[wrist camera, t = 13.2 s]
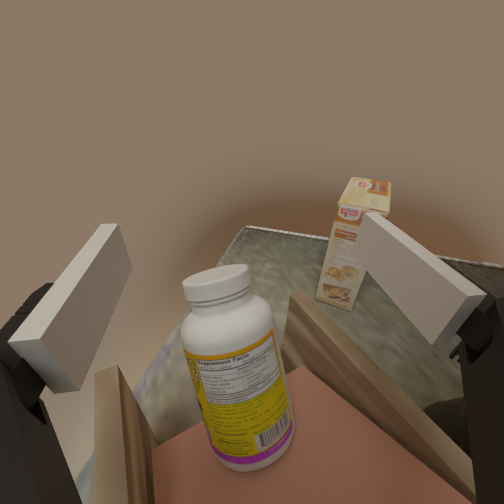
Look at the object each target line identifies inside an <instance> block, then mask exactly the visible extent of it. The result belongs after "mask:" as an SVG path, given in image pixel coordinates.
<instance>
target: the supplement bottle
mask: <svg viewBox="0 0 504 504" xmlns="http://www.w3.org/2000/svg"><path fill="white" fill-rule="evenodd" d="M251 282H252V279H251V275H250V271H249V268H248V266H247V265H245V264H234V265H227V266H221V267H217V268H213V269H209V270H206V271H203V272H200V273H197V274H194V275H192V276H190V277H188V278H186V279H185V280H184V281H183V282H182V285H183V289H184V293H185V298H186V300H188V301H189V304H191V306H192V312H191V313H190V314H189V315H188V316H187V317H186V318H185V320H184V322H183V324H182V327H181V332H180V334H181V341H182V345H183V349H184V352H185V355H186V359H187V362H188V366H189V370H190V373H191V377H192V381H193V384H194V388H195V392H196V395H197V399H198V402H199V406H200V410H201V413H202V417H203V421H204V424H205V428H206V431H207V435H208V439H209V442H210V445H211V448H212V451H213V453H214V455H215V456H216V458H217V459H218V460H219V462H220V463H222V464H223V465H224V466H225V467H227V468H229V469H231V470H234V471H238V472H250V471H256V470H260V469H263V468H265V467H267V466H269V465H271V464H273V463H274V462H275V461H276V460H278V459H279V458H280V457H281V456H282V455H283V454H284V452H285V451H286V450H287V448H288V447H289V445H290V443H291V441H292V438H293V435H294V429H295V417H294V412H293V407H292V402H291V398H290V393H289V388H288V384H287V379H286V374H285V370H284V365H283V360H282V356H281V351H280V346H279V342H278V337H277V332H276V327H275V322H274V317H273V313H272V309H271V307H270V306H269V304H268V303H267V302H266V301H265V300H264V299H263V298H261V297H259V296H256V295H253V294H252V293H251Z"/></svg>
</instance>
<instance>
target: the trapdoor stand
mask: <svg viewBox="0 0 504 504" xmlns="http://www.w3.org/2000/svg"><path fill="white" fill-rule="evenodd" d="M281 356H282V360H283V365H284V370H285V374H288V373H290V372H291V371H293V370H295V369H297V368H299V367H300V366H302V365H303V366H304V367H305V368H306V369H308V370H309V371H310V372H311V373H312V374H314V375H315V376H316V377H317V378H319V379H320V380H321V381H322V382H324V383H325V384H326V385H327V386H328V387H330V388H331V389H332V390H333V391H335V392H336V393H337V394H338V395H340V396H341V397H342V398H343V399H344V400H346V401H347V402H348V403H349V404H351V405H352V406H353V407H354V408H356V409H357V410H358V411H359V412H360V413H362V414H363V415H364V416H365V417H367V418H368V419H369V420H370V421H372V422H373V423H374V424H375V425H376V426H378V427H379V428H380V429H381V430H383V431H384V432H385V433H386V434H388V435H389V436H390V437H391V438H393V439H394V440H395V441H396V442H397V443H399V444H400V445H401V446H402V447H404V448H405V449H406V450H407V451H409V452H410V453H411V454H412V455H413V456H415V457H416V458H417V459H418V460H420V461H421V462H422V463H423V464H425V465H426V466H427V467H428V468H429V469H431V470H432V471H433V472H434V473H436V474H437V475H438V476H439V477H441V478H442V479H443V480H444V481H445V482H447V483H448V484H449V485H450V486H452V487H453V488H454V489H455V490H457V491H458V492H459V493H460V494H461V495H463V496H464V497H465V498H466V499H468V500H469V501H470V502H471V503H473V504H477V501H476V493H475V484H474V476H473V467H472V460H471V459H470V458H469V457H468V456H467V455H466V454H465V453H464V452H463V451H462V450H461V449H460V448H459V447H458V446H457V445H456V444H455V443H454V442H453V441H452V440H451V439H450V438H449V437H448V436H447V435H446V434H445V433H444V432H443V431H442V430H441V429H440V428H439V427H438V426H437V425H436V424H435V423H434V422H433V421H432V420H431V419H430V418H429V417H428V416H427V415H426V414H425V413H424V412H423V411H422V410H421V409H420V408H419V407H418V406H417V405H416V404H415V403H414V402H413V401H412V400H411V399H410V398H409V397H408V396H407V395H406V394H405V393H404V392H403V391H402V390H401V389H400V388H399V387H398V386H397V385H396V384H395V383H394V382H393V381H392V380H391V379H390V378H389V377H388V376H387V375H386V374H385V373H384V372H383V371H382V370H381V369H380V368H379V367H378V366H377V365H376V364H375V363H374V362H373V361H372V360H371V359H370V358H369V357H368V356H367V355H366V354H365V353H364V352H363V351H362V350H361V349H360V348H359V347H358V346H357V345H356V344H355V343H354V342H353V341H352V340H351V339H350V338H349V337H348V336H347V335H346V334H345V333H344V332H343V331H342V330H341V329H340V328H339V327H338V326H337V325H336V324H335V323H334V322H333V321H332V320H331V319H330V318H329V317H328V316H327V315H326V314H325V313H324V312H323V311H322V310H321V309H320V308H319V307H318V306H317V305H316V304H315V303H314V302H313V301H312V300H311V299H310V298H309V297H308V296H307V295H306V294H305V293H304V292H303V291H301V292H299V293H296V294H294V295H291V296H290V302H289V308H288V315H287V321H286V327H285V333H284V340H283V346H282V352H281ZM94 413H95V415H94V416H95V418H94V421H95V423H94V427H95V428H94V430H95V432H94V433H95V434H94V435H95V436H94V437H95V438H94V504H155V496H154V482H153V467H152V452H151V449H153V448H155V447H157V446H158V442H157V439H156V437H155V435H154V433H153V431H152V429H151V427H150V426H149V424H148V422H147V420H146V418H145V416H144V414H143V412H142V410H141V408H140V407H139V405H138V403H137V401H136V399H135V397H134V395H133V393H132V391H131V389H130V387H129V386H128V384H127V382H126V380H125V378H124V376H123V374H122V372H121V370H120V368H119V367H118V365H115V366H113V367H110V368H107V369H105V370H102V371H100V372H98V373H95V412H94Z"/></svg>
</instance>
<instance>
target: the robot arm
mask: <svg viewBox="0 0 504 504" xmlns="http://www.w3.org/2000/svg"><path fill="white" fill-rule="evenodd" d="M352 254H353V255H354V256H355V257H356V259H357V260H358V261H359V262H360V263H361V264H362V266H363V267H364V268H365V269H366V270H367V271H368V273H369V274H370V275H371V276H372V277H373V278H374V279H375V281H376V282H377V283H378V284H379V285H380V286H381V288H382V289H383V290H384V291H385V292H386V293H387V295H388V296H389V297H390V298H391V299H392V300H393V301H394V303H395V304H396V305H397V306H398V307H399V308H400V310H401V311H402V312H403V313H404V314H405V315H406V316H407V318H408V319H409V320H410V321H411V322H412V323H413V325H414V326H415V327H416V328H417V329H418V330H419V332H420V333H421V334H422V335H423V336H424V337H425V338H426V340H427V341H428V342H429V343H430V344H431V345H438V344H446V343H449V342H450V340H451V339H452V338H453V337H454V335H455V334H457V335H458V336H460V337H461V338H462V341H461V342H460V343H459V344H458V345H457V346H456V348H455V349H454V350H453V351H452V352H451V354H450V356H449V358H450V359H453V358H454V357H455V356H456V355H457V354H458V355H459V356H460V358H459V359H458V360H457V362H459V363H460V365H461V373H462V382H463V390H464V397H462V398H456V399H451V400H446V401H440V402H437V403H434V404H431V405H430V406H428V407H426V408H425V409H424V410H422V411H423V412H424V413H425V414H426V415H427V416H428V417H429V418H430V419H431V420H432V421H433V422H434V423H435V424H436V425H437V426H438V427H439V428H440V429H441V430H442V431H443V432H444V433H445V434H446V435H447V436H448V437H449V438H450V439H451V440H452V441H453V442H454V443H455V444H456V445H457V446H458V447H459V448H460V449H461V450H462V451H463V452H464V453H465V454H466V455H467V456H468V457H469V458H470V459H471V460H472V467H473V476H474V484H475V493H476V501H477V504H504V298H498V299H497V298H496V297H494V296H493V295H492V294H490V293H489V292H487V291H486V290H485V289H483V288H482V287H481V286H479V285H478V284H476V283H475V282H474V281H472V280H471V279H470V278H468V277H467V276H464V274H463V273H461V272H460V271H459V270H456V269H455V267H453V266H452V265H450V264H449V263H448V262H446V261H445V260H443V259H441V258H438V257H436V256H435V255H434V254H432V253H431V252H430V251H428V250H427V249H425V248H424V247H423V246H421V245H420V244H419V243H417V242H416V241H415V240H413V239H412V238H411V237H409V236H408V235H407V234H405V233H404V232H403V231H401V230H399V229H398V228H397V227H396V226H394V225H393V224H392V223H390V222H389V221H387V220H386V219H385V218H384V217H382V216H381V215H380V214H378V213H377V212H373V213H364V215H363V218H362V221H361V225H360V228H359V231H358V234H357V237H356V240H355V244H354V247H353V250H352ZM132 268H133V267H132V264H131V261H130V258H129V255H128V252H127V249H126V246H125V243H124V240H123V237H122V234H121V231H120V228H119V225H118V224H101V225H100V227H99V228H98V229H97V230H96V232H95V233H94V234H93V236H92V237H91V238H90V239H89V240H88V242H87V243H86V244H85V246H84V247H83V248H82V249H81V250H80V252H79V253H78V254H77V256H76V257H75V258H74V259H73V261H72V262H71V263H70V264H69V266H68V267H67V268H66V269H65V271H64V272H63V273H62V274H61V276H60V277H59V278H58V279H57V281H56V282H55V283H46V284H45V285H44V286H42V287H41V288H39V289H38V290H36V291H35V292H33V293H32V294H31V295H30V296H29V298H28V299H27V300H26V301H25V302H24V303H23V306H21V307H20V308H19V309H18V310H17V312H16V313H15V316H12V317H11V318H10V319H9V321H8V322H7V323H6V324H5V325H4V327H3V328H2V329H1V330H0V504H82V501H81V499H80V496H79V493H78V491H77V488H76V486H75V483H74V480H73V478H72V475H71V473H70V470H69V467H68V465H67V462H66V460H65V457H64V454H63V452H62V449H61V447H60V444H59V441H58V439H57V436H56V433H55V431H54V428H53V426H52V423H51V421H50V418H49V415H48V412H47V410H46V407H45V405H44V402H43V401H42V400H41V399H40V398H39V396H40V394H41V392H42V391H43V389H44V387H45V385H47V387H48V388H49V389H50V390H51V391H52V392H53V393H54V394H57V393H65V392H73V391H79V390H80V388H81V386H82V384H83V381H84V379H85V377H86V375H87V372H88V370H89V368H90V365H91V363H92V361H93V358H94V356H95V354H96V351H97V349H98V347H99V344H100V342H101V340H102V337H103V335H104V333H105V330H106V328H107V326H108V324H109V321H110V319H111V317H112V314H113V312H114V310H115V307H116V305H117V302H118V300H119V298H120V296H121V293H122V291H123V288H124V286H125V284H126V282H127V279H128V277H129V275H130V273H131V270H132Z"/></svg>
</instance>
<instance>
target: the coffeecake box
mask: <svg viewBox="0 0 504 504" xmlns="http://www.w3.org/2000/svg"><path fill="white" fill-rule="evenodd" d="M390 195H391V183H388V182H385V181H379V180H372V179H364V178H358V177H352V178H351V180H350V181H349V183H348V185H347V187H346V189H345V191H344V192H343V194H342V196H341V198H340V200H339V202H338V207H337V211H336V216H335V219H334V223H333V227H332V231H331V235H330V239H329V243H328V248H327V252H326V256H325V260H324V264H323V267H322V271H321V275H320V280H319V284H318V288H317V292H316V295H315V299H316V300H319V301H322V302H325V303H328V304H331V305H333V306H336V307H338V308H341V309H344V310H347V311H349V312H352V309H353V306H354V303H355V300H356V298H357V295H358V292H359V290H360V287H361V285H362V282H363V279H364V277H365V274H366V272H367V270H366V269H365V268H364V267H363V266H362V264H361V263H360V262H359V261H358V260H357V259H356V257H355V256H354V255H353V254H352V250H353V247H354V244H355V240H356V237H357V234H358V231H359V228H360V225H361V221H362V218H363V215H364V213H373V212H377V213H378V214H380V215H381V216H382V217H384V218H385V219H386V220H387V217H388V215H389V211H390V197H391V196H390Z"/></svg>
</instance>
